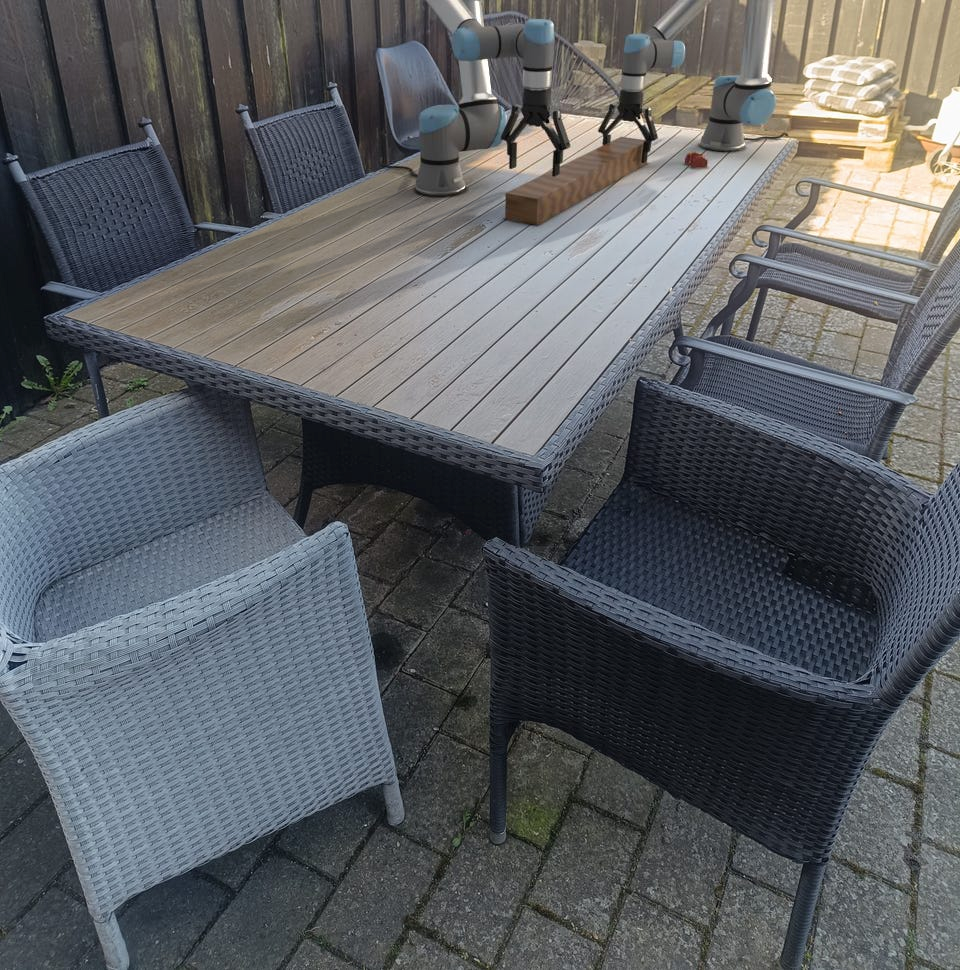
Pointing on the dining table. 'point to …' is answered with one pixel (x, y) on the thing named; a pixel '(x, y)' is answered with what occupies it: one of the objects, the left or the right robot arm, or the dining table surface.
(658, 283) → the dining table surface
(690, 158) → the dark red rounded lump
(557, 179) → the thick board
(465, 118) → the left robot arm
